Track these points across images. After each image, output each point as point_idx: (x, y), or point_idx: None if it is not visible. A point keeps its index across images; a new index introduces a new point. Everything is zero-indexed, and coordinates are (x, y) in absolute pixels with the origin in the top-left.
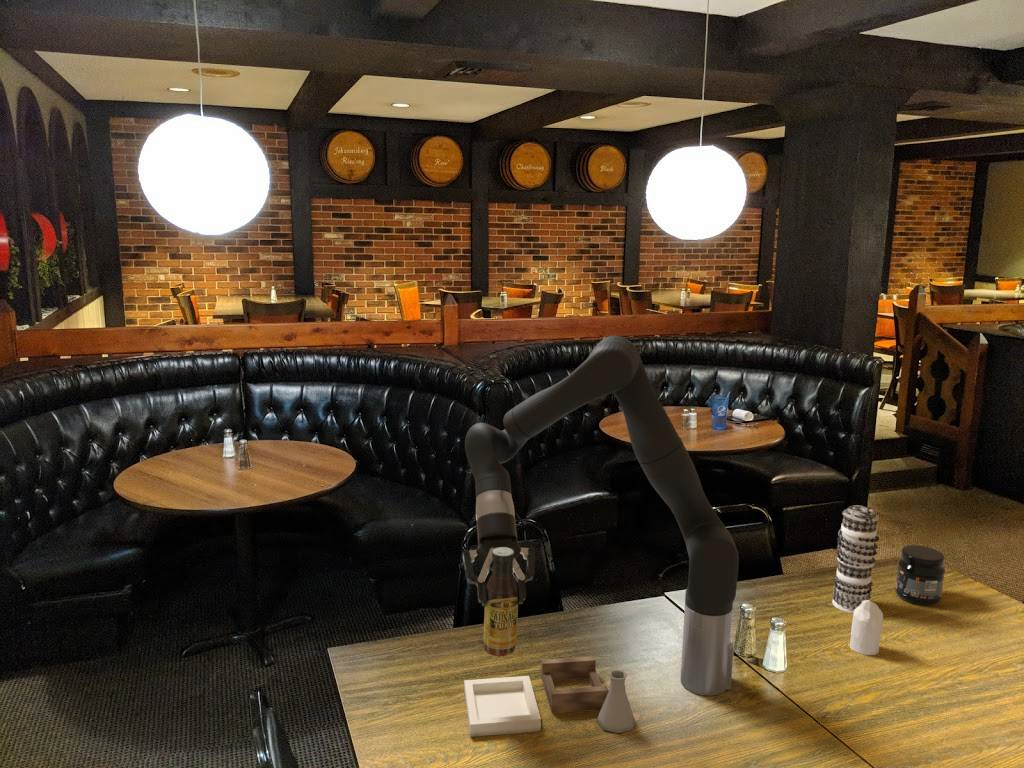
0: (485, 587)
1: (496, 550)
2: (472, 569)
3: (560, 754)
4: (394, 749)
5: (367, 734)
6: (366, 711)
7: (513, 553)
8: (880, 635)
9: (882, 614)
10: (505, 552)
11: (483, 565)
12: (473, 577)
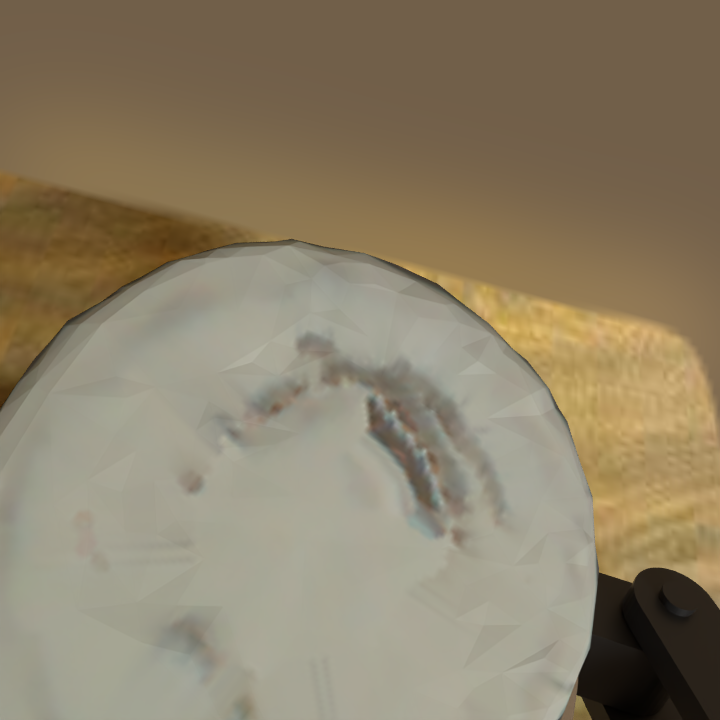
0: None
1: (485, 640)
2: (699, 689)
3: (114, 222)
4: (612, 359)
5: (691, 446)
6: (702, 568)
7: (8, 397)
8: None
9: None
10: (246, 451)
11: (572, 702)
12: (642, 587)
